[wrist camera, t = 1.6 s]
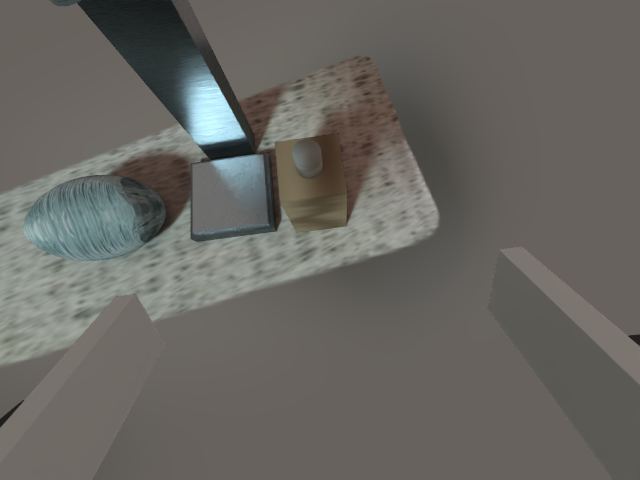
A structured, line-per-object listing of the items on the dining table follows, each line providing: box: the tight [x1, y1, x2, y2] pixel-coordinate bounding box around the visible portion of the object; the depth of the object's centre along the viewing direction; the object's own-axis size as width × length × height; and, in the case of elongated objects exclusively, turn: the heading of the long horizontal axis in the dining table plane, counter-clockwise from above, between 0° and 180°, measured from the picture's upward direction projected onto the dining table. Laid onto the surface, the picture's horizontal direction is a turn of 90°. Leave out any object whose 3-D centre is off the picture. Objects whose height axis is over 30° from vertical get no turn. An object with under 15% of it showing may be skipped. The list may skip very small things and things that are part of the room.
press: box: [50, 0, 276, 242], centre depth 24 cm, size 10×14×29 cm
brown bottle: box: [275, 133, 347, 233], centre depth 30 cm, size 6×6×12 cm
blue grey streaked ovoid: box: [24, 175, 166, 261], centre depth 34 cm, size 14×10×10 cm
